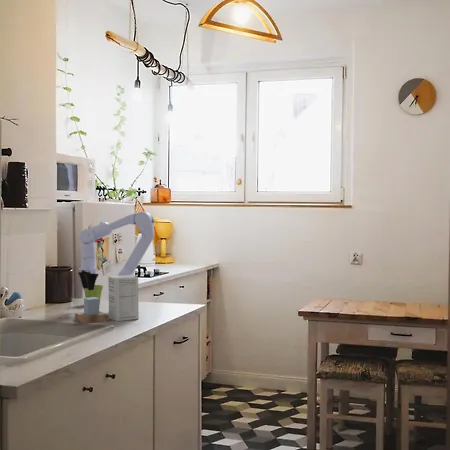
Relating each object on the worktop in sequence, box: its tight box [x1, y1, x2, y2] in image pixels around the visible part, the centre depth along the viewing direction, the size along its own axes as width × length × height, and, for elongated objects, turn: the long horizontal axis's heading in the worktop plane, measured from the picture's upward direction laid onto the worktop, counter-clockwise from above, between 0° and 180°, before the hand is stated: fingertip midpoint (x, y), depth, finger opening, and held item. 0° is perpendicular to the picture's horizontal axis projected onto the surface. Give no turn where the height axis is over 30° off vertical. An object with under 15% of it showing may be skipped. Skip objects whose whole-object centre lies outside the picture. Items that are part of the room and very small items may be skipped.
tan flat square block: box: [74, 310, 109, 324], centre depth 244 cm, size 10×10×3 cm
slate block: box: [83, 297, 100, 315], centre depth 244 cm, size 4×4×6 cm
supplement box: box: [107, 275, 140, 322], centre depth 248 cm, size 10×9×17 cm
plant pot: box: [83, 284, 104, 305], centre depth 287 cm, size 9×9×9 cm
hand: (88, 289), depth 267 cm, fingers open, 7 cm apart
